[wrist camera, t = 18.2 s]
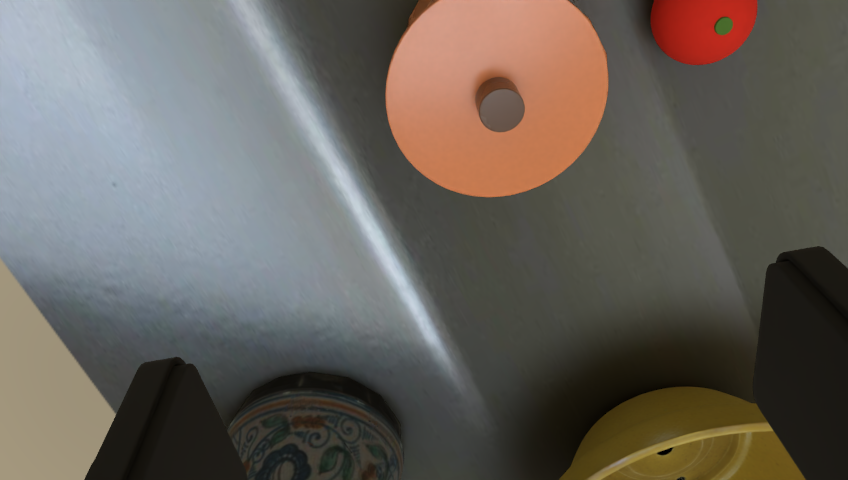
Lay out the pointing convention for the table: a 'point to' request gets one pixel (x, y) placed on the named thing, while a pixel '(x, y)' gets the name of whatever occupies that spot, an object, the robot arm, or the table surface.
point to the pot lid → (496, 92)
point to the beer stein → (317, 431)
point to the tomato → (701, 28)
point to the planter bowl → (682, 440)
